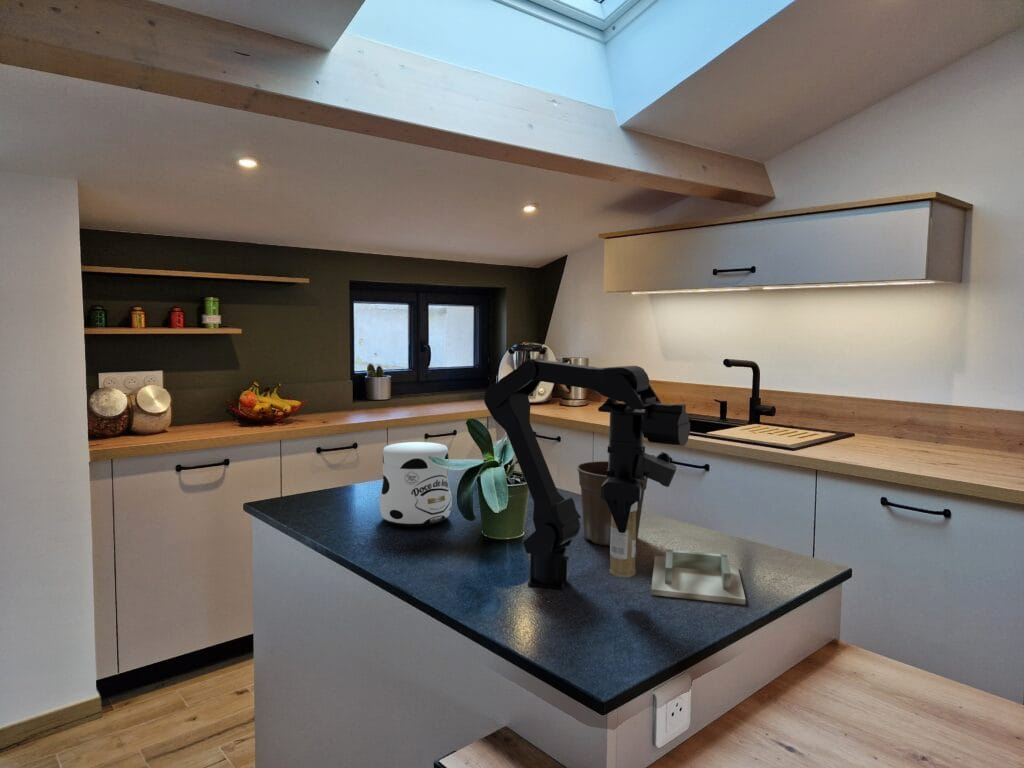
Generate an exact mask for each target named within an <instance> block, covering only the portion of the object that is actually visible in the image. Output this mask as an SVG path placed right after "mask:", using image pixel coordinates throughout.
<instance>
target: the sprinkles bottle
mask: <svg viewBox="0 0 1024 768" xmlns="http://www.w3.org/2000/svg"><path fill="white" fill-rule="evenodd" d="M636 510H637V502H635V503H634V504H633V505H632V506H631V510H630V514H629V519H628V523H627V527H626V532H625V533H620V532H619V531H618V529H617V526H616V524H615V521H614V519H613V516H612V514H611V537H610V546H609V548H610V549H609V555H610V559H609V561H610V563H609V564H610V565H609V573H610V575H613V576H614V577H619V578H630V577H633V576H635V574H636V552H637V551H636V546H637V545H636V543H637V541H636V512H637V511H636Z"/></svg>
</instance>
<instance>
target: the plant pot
mask: <svg viewBox="0 0 1024 768" xmlns="http://www.w3.org/2000/svg"><path fill="white" fill-rule="evenodd" d="M608 462H609V460H597V461H588V462H582V463H579V464H578V465H577V466H576V470H577V471H578V480H579V481H578V483H579V486H580V490H581V491H580V493H581V507H582V508H581V509H582V511H581V513H582V531H583V532H582V533H583V538H584V539H585V540H587V541H591V542H592V543H593V544H596V545H599V546H601V545H602V546H605V547H610V537H611V511H610V509H609V506H608V504H607V502H606V500H605V499H601V486H602V484H603V482H604V481H606V480H607V479H608V478H609V477H607V470H608ZM648 479H649V478H647V477H645V480H641V479H636V480H637V481H638V482H639V483H644V484H643V488H642V489H641V498H640V501H638V502H637V510H636V511H637V512H636V542H637V541H638V538H639V537H638V536H639V531H640V530H639V529H640V523H641V515H642V510H643V503H644V502H643V501H644V495H645V490H647V485H648Z"/></svg>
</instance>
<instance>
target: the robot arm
mask: <svg viewBox="0 0 1024 768" xmlns="http://www.w3.org/2000/svg"><path fill="white" fill-rule="evenodd" d="M541 382H543V383H550V384H556V385H561V386H562V385H563V386H568V387H569V386H570V387H572V388H574V387H575V388H582V389H587V390H590V391H593V392H595V393H597V394H598V395H599V396H603V397H605V398H607V399H606V401H605V402H604V403H603V404H602V405H600V406H598V409H597V410H598V412H599V413H608V414H609V426H608V427H609V429H608V431H609V433H608V435H609V436H608V445H607V450H606V453H607V454H608V461H609V462H608V470H607V477H609V478H608V479H607V480H606V481H604V482H603V484H602V486H601V499H605V500H606V502H607V504H608V506H609V509H610V511H611V514H612V516H613V519H614V521H615V524H616V526H617V529H618V531H619V532H620V533H625V532H626V527H627V523H628V519H629V514H630V510H631V506H632V505H633V504H634V503H635V502H638V501H640V498H641V489H642V488H643V484H644V483H639V482H638V481H637V480H636V479H641V480H645V477H647V478H648V479H650V480H652V481H655V482H657V483H659V484H660V485H661V486H663V487H666V488H669V487H670V485H671V484H672V481H673V479H674V476H675V474H676V471H677V465H676V464H675V463H673V462H671V461H670V454H669V453H666V452H663V451H661V452H659V453H658V454H657V455H654V454H649V453H646V445H644V438H645V439H647V442H648V443H652V444H660V445H671V446H678V447H685V445H686V444H687V443H688V441H689V437H690V433H691V422H690V419H689V415H688V413H687V411H686V410H687V406H686V404H685V403H675V404H671V403H662V401H661V400H660V398H659V396H658V395H657V394H656V392H655V391H654V389H653V388H652V386H651V385H650V379H649V376H648V373H647V372H646V371H645V369H644V368H642V367H641V366H638V365H623V366H622V365H621V366H620V365H619V366H609V367H608V366H607V367H595V366H588V365H581V364H575V363H568V362H560V361H554V360H553V361H552V360H546V359H544V358H541V357H540V358H539V357H538V358H530V359H529V358H528V359H526V360H524V361H523V362H522V363H521V364H519V366H518V367H516V369H514V370H512V371H511V372H508V374H507V375H505V376H503V377H502V378H500V379H499V381H497V382H494V383H491V384H489V385H488V386H487V388H486V390H485V393H484V395H483V402H484V404H485V407H486V409H487V410H488V412H489V414H490V415H491V418H492V419H493V420H494V421H495V422H496V423H497V425H499V426H500V427H501V429H502V430H504V431H505V433H506V435H507V438H508V440H509V443H510V446H511V448H512V451H513V453H514V456H515V458H516V460H517V463H518V465H519V468H520V472H521V473H522V476H523V478H524V482H525V483H526V486H527V489H528V491H529V494H530V496H531V500H532V501H533V509H532V522H533V527H534V530H535V531H534V532H533V533H532V534H530V535H529V536H527V538H526V539H525V540H523V546H524V550H525V552H526V554H530V555H529V559H530V560H529V561H530V563H529V579H528V581H527V585H528V586H532V587H533V586H534V587H540V588H548V589H549V588H550V589H557V590H561V589H563V588H564V586H565V583H567V582H568V581H569V577H570V576H569V575H570V574H569V573H570V557H569V555H567V547H569V546H571V543H572V541H573V539H575V538H576V537H577V536H578V534H579V532H580V529H581V522H580V520H579V519H581V518H582V516H581V515H580V514H579V512H578V509H576V504H575V501H574V499H573V497H568V498H566V499H565V498H564V497H563V496H562V495H561V494H560V492H559V491H558V488H557V487H556V484H555V482H554V478H553V477H552V475H551V472H550V469H549V467H548V464H547V462H546V460H545V457H544V454H543V452H542V449H541V446H540V445H539V442H538V440H537V439H538V438H537V437H536V435H535V432H534V430H533V426H532V424H531V421H530V418H531V417H530V416H531V403H530V398H529V397H530V396H531V395H532V394H533V393H534V392H535V391H536V390H537V389H538V387H539V386H540V384H541Z"/></svg>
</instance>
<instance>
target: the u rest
mask: <svg viewBox="0 0 1024 768" xmlns="http://www.w3.org/2000/svg"><path fill="white" fill-rule="evenodd" d="M739 570H740V569H739V566H738V563H736V562H735V563H734V562H729V559H728V554H722V553H721V554H720V553H710V552H709V553H708V552H701V551H699V552H698V551H689V550H688V551H687V550H676V549H668V548H667V549H666V553H665V556H661V555H654V562H653V571H652V579H651V589H650V595H652V596H660V597H661V596H662V597H669V598H670V597H671V598H676V599H677V598H678V599H679V598H680V599H689V600H697V601H698V600H699V601H705V602H706V601H707V602H718V603H724V604H725V603H727V604H734V605H743V606H744V605H746V596H745V591H744V587H743V584H742V583H743V582H742V579H741V574H740V571H739Z"/></svg>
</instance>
